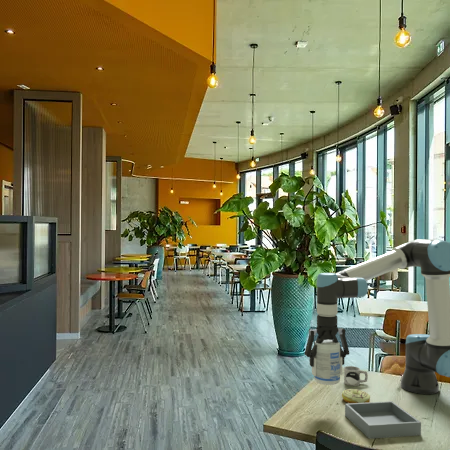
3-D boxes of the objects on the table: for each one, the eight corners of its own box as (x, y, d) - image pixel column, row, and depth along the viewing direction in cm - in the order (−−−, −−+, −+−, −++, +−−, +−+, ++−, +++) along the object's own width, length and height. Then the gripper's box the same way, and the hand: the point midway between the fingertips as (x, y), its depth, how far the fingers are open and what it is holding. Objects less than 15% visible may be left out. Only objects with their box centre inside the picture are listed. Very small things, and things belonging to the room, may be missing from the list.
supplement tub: (336, 387, 169) (336, 346, 169) (310, 383, 174) (310, 343, 174) (343, 379, 178) (343, 340, 178) (318, 375, 182) (318, 337, 182)
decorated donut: (364, 409, 179) (365, 399, 179) (337, 402, 185) (338, 392, 185) (373, 400, 187) (373, 391, 187) (347, 394, 194) (347, 385, 194)
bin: (391, 412, 175) (392, 401, 175) (420, 435, 157) (421, 422, 157) (345, 415, 172) (345, 403, 172) (369, 438, 154) (369, 425, 154)
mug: (345, 385, 204) (345, 370, 204) (343, 380, 210) (343, 365, 210) (368, 387, 203) (369, 371, 203) (366, 381, 209) (366, 367, 209)
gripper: (350, 311, 181) (350, 369, 181) (295, 313, 177) (295, 372, 177) (359, 315, 174) (359, 375, 174) (302, 317, 170) (302, 379, 170)
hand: (327, 374), depth 176 cm, fingers closed on supplement tub, 9 cm apart
